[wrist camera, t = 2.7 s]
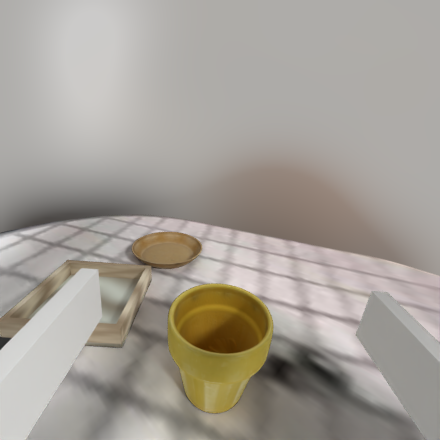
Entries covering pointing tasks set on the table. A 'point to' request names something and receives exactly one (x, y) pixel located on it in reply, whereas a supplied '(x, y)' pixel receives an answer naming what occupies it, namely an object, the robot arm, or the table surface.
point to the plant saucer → (166, 249)
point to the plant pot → (218, 342)
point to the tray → (110, 300)
